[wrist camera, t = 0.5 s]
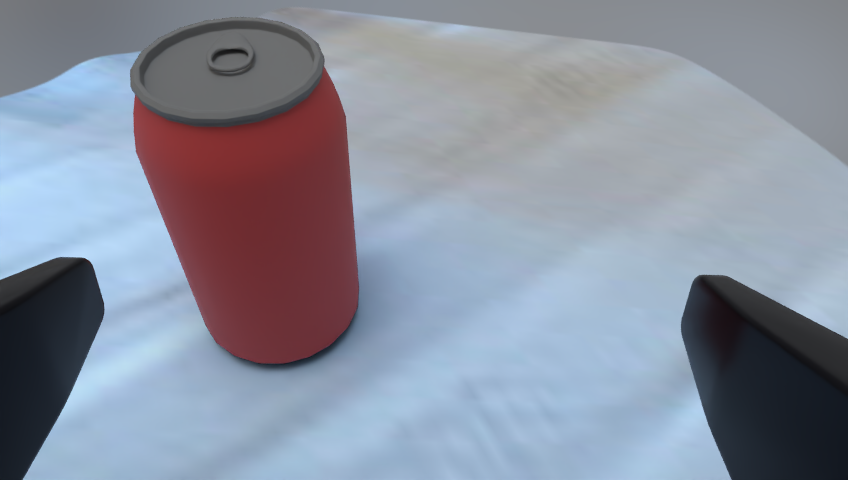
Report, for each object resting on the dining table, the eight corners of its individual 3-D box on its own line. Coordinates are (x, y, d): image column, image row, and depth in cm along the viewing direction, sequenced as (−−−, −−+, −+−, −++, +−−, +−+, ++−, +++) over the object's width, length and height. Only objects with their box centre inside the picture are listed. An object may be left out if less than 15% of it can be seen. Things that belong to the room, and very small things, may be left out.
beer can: (352, 243, 29) (333, 3, 20) (367, 360, 25) (350, 117, 16) (212, 258, 28) (128, 13, 20) (201, 382, 24) (87, 137, 15)
